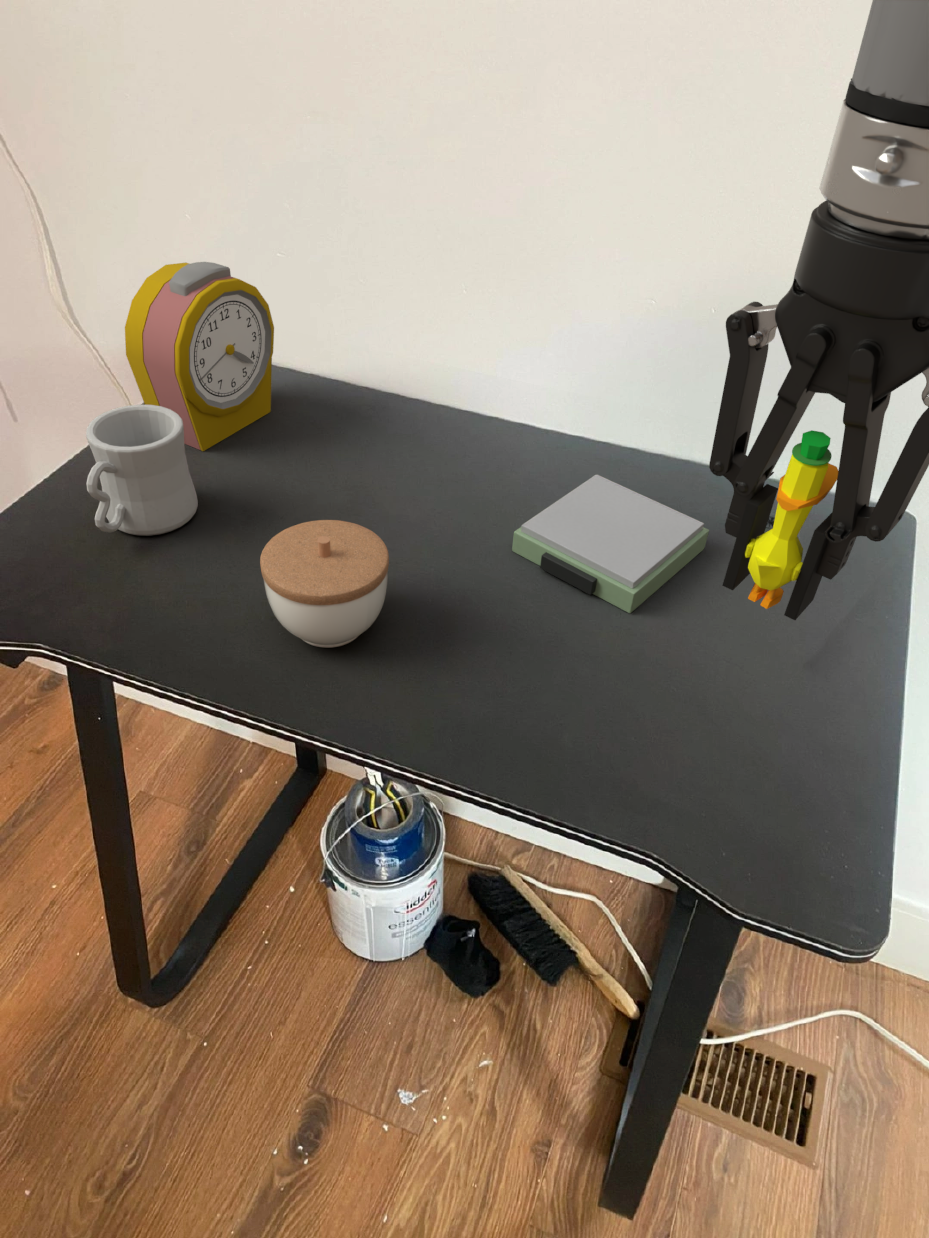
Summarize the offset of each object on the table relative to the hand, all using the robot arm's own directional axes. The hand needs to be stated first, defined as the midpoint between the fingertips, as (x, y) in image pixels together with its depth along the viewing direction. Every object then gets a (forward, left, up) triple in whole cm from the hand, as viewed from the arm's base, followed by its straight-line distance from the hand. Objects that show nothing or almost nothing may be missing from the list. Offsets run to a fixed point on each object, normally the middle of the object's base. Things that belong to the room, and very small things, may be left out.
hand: (767, 592), depth 59 cm
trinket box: (+34, +8, -18) cm, 39 cm away
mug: (+59, +10, -18) cm, 62 cm away
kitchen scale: (+22, -19, -18) cm, 34 cm away
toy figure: (0, 0, 0) cm, 0 cm away
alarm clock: (+70, -8, -18) cm, 73 cm away
